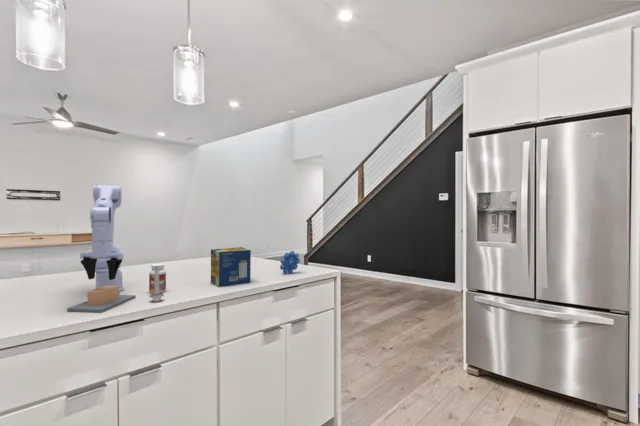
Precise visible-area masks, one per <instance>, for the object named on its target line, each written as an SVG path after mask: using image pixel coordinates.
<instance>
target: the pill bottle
mask: <svg viewBox="0 0 640 426" xmlns="http://www.w3.org/2000/svg"><path fill="white" fill-rule="evenodd" d="M156 266H158V267H159V274H160V275H159V277H160V278H159V282H160V283H159V285H160V286H159V290H160V291H159V293H164V292H166V291H167V271H166V269H165V264H164V263H153V264H151V266H150V268H151V270H150V271H149V274H148V277H149V279H148V281H149V282H148V283H149V285H148V290H149V293H151V294H154V275H155V267H156Z"/></svg>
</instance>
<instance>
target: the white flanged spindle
mask: <svg viewBox="0 0 640 426" xmlns="http://www.w3.org/2000/svg"><path fill="white" fill-rule="evenodd" d="M159 275H160V274H159V267H158V266H156V267H155V275H154V293H151V294H150V295H149V298H151V299H152V302H154V303H159V302H160V301H162V297H164V296H165V294H164V292H161V293H159V291H160V290H159V286H160V285H159V283H160V282H159V278H160V277H159Z"/></svg>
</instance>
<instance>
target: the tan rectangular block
mask: <svg viewBox="0 0 640 426" xmlns="http://www.w3.org/2000/svg"><path fill="white" fill-rule="evenodd" d="M119 295H120V291H119V286H104V287H101V288H97V289H96V288H95V289H91V290H89V291H87V301H88V305H104V304H106V303H108V302H111V301H113V300H116V299H118V298H119Z"/></svg>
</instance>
